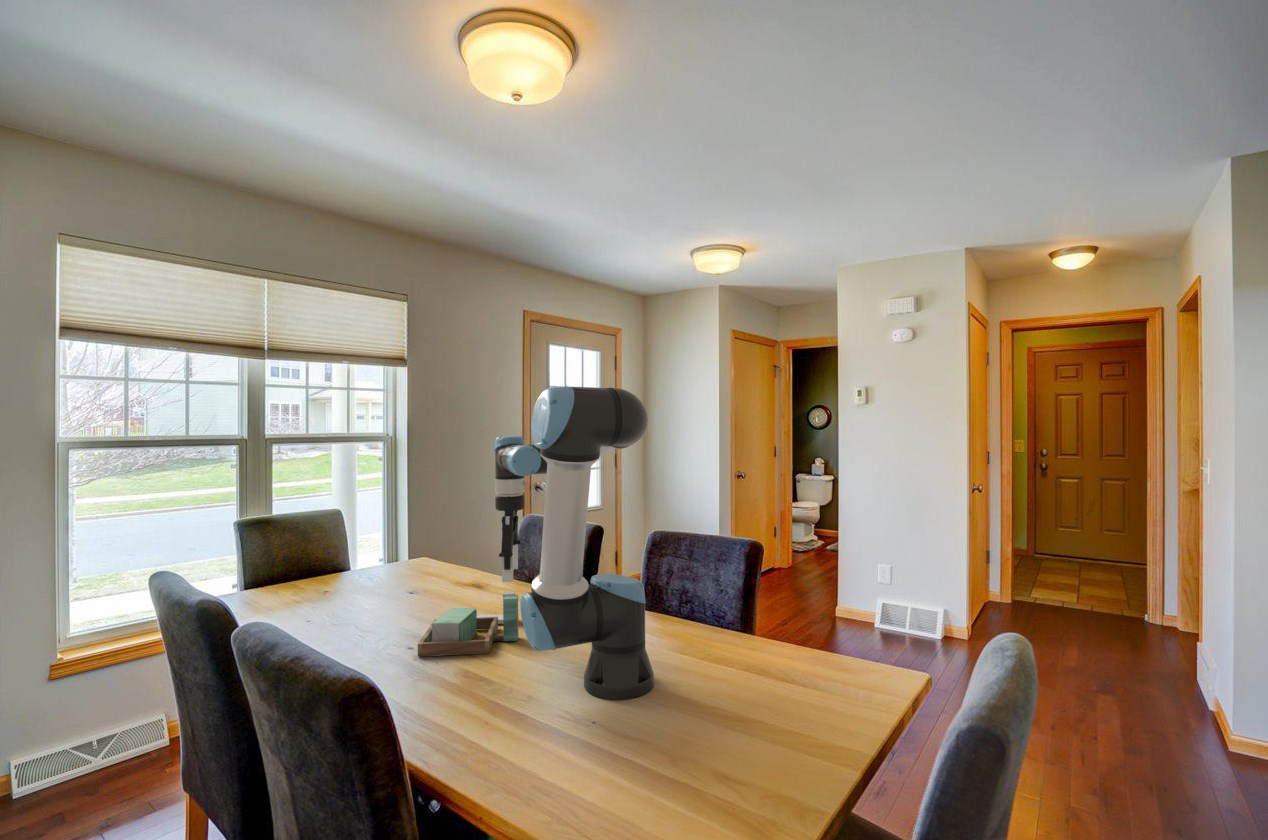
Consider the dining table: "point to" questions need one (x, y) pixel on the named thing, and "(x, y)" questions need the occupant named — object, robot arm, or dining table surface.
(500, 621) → the grey l-shaped bracket
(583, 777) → the dining table surface
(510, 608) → the walnut frame
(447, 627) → the box
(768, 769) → the dining table surface
